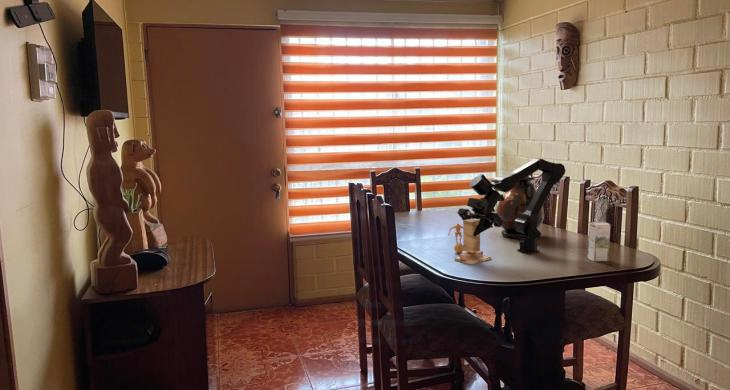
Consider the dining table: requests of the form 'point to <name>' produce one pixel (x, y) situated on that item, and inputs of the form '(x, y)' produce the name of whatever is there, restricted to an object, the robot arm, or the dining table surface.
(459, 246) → the figurine
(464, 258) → the fulcrum
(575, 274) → the dining table surface
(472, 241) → the oak post
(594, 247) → the syrup box
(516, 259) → the dining table surface
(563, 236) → the dining table surface
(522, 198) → the amphora vase
